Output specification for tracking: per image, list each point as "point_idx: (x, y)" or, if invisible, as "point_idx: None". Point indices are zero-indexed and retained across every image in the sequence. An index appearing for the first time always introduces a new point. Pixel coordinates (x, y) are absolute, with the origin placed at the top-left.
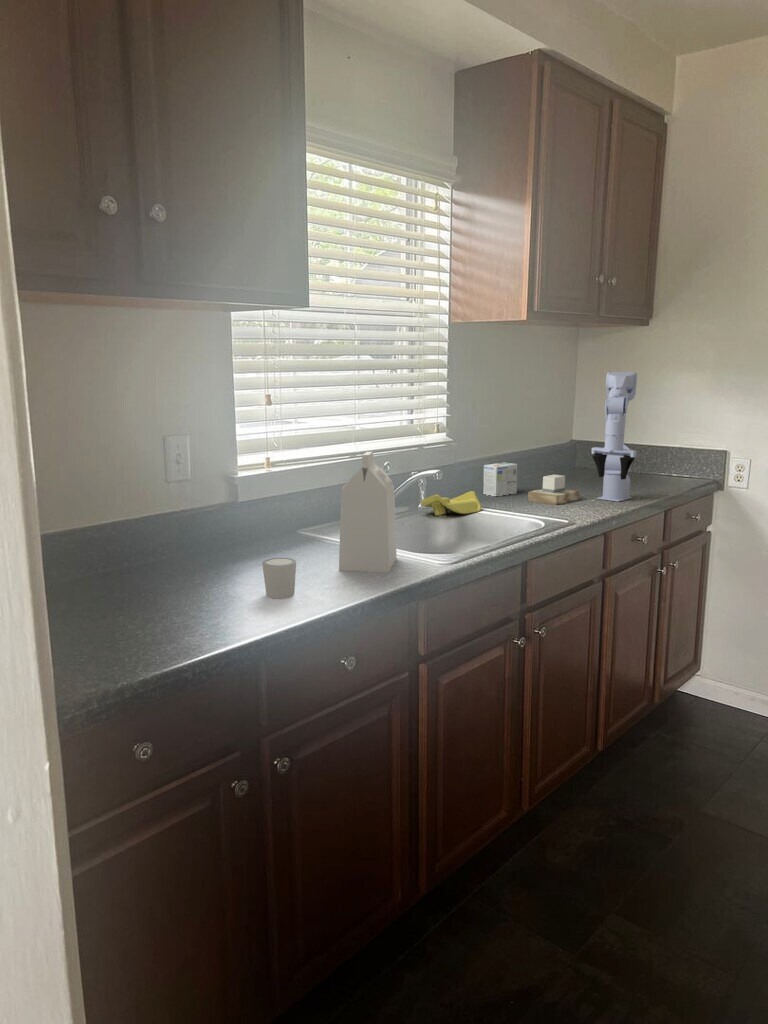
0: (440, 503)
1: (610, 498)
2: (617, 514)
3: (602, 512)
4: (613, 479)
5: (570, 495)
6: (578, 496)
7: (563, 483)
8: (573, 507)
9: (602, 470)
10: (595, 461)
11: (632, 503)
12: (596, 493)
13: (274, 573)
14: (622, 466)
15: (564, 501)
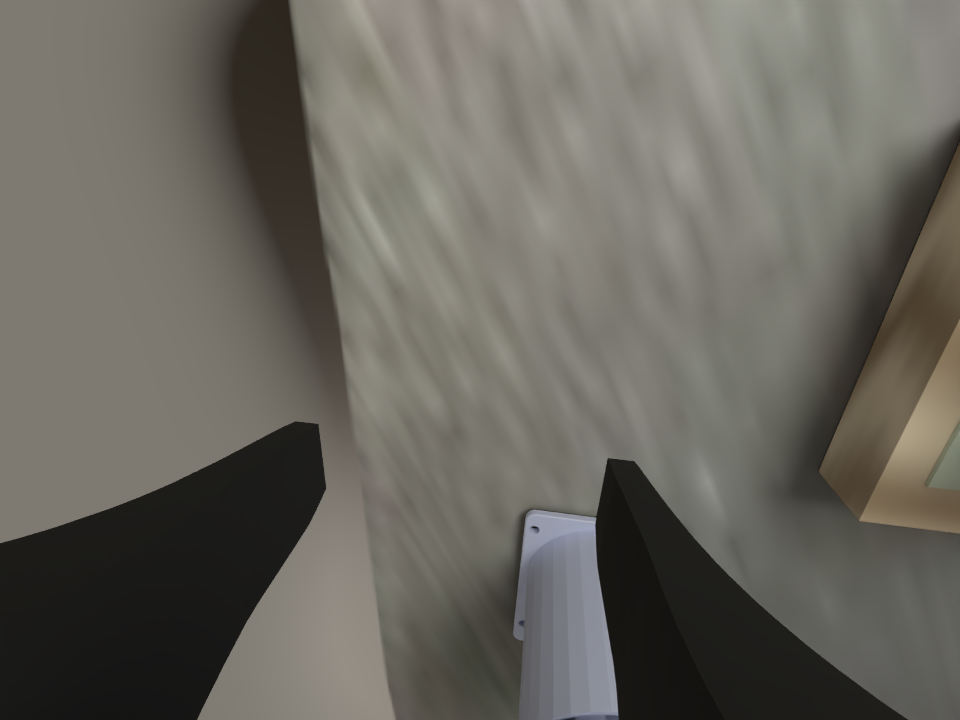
0: None
1: (591, 533)
2: (307, 69)
3: (439, 62)
4: (587, 667)
5: (901, 382)
6: (833, 481)
7: None
8: (759, 108)
9: (614, 563)
10: (797, 651)
11: (445, 515)
12: None
13: None
14: (145, 515)
15: (915, 269)
